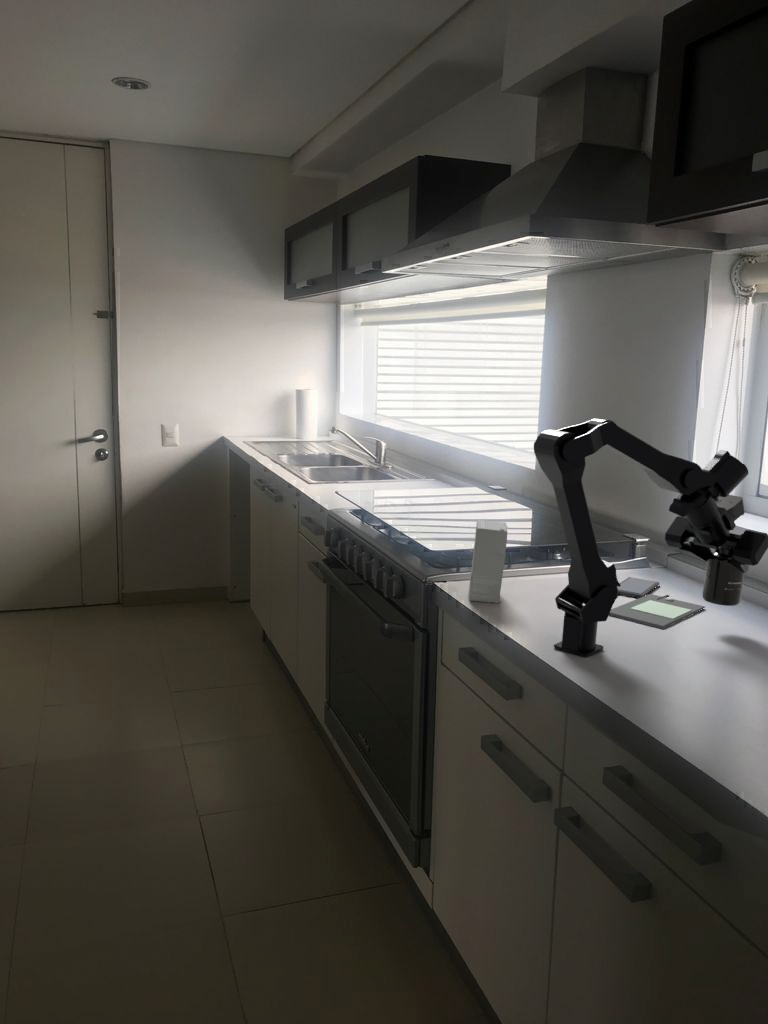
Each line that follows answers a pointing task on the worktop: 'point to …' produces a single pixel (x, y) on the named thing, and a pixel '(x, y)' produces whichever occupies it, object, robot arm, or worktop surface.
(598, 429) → the robot arm
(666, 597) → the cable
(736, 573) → the supplement bottle
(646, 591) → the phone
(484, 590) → the skincare box
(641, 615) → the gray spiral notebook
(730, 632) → the worktop surface
